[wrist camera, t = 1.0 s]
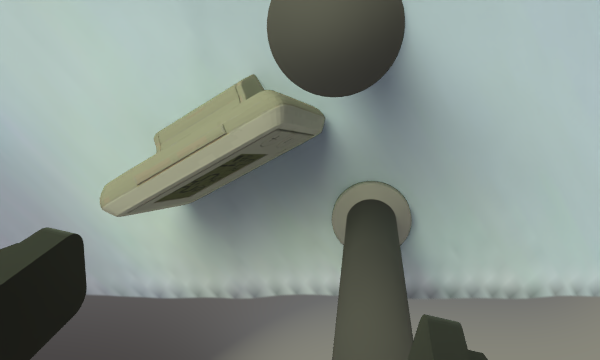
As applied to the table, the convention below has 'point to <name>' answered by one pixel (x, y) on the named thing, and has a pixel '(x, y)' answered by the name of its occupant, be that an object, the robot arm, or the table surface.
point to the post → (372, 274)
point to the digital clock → (213, 148)
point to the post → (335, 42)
